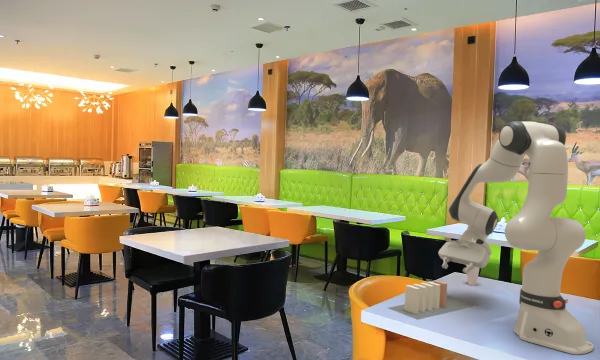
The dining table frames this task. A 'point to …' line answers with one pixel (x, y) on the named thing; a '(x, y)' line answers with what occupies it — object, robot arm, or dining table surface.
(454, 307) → the rubber mat
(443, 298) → the terracotta domino
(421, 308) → the ivory domino
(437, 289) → the ivory domino
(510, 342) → the dining table surface
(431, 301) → the ivory domino
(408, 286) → the ivory domino
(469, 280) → the smoothie
